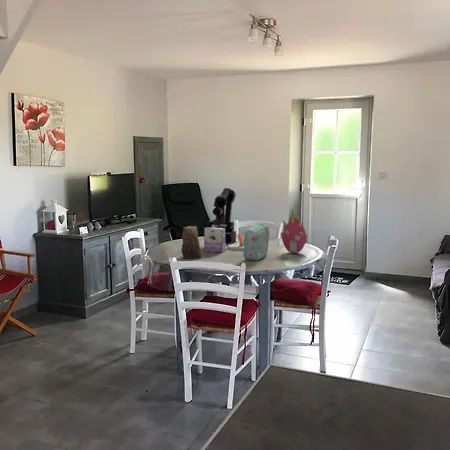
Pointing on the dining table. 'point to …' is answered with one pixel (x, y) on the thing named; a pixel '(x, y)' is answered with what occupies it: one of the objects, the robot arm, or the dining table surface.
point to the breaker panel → (236, 246)
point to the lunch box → (256, 242)
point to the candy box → (214, 240)
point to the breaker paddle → (241, 238)
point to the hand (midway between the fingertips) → (220, 235)
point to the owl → (190, 243)
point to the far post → (233, 237)
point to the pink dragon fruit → (294, 234)
